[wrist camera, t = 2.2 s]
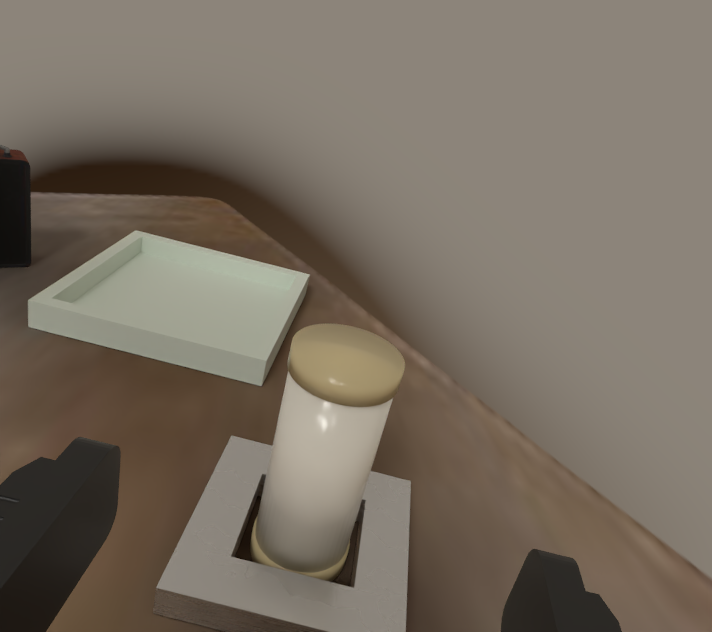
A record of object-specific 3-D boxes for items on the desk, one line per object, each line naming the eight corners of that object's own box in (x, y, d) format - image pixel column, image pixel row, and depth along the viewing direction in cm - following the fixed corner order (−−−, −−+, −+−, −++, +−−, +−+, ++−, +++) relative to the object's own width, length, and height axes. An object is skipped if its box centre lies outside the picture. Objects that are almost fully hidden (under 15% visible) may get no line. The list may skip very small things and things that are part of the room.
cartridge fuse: (237, 575, 26) (280, 365, 22) (263, 503, 31) (303, 313, 26) (338, 601, 26) (403, 396, 22) (350, 525, 31) (406, 340, 26)
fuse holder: (153, 613, 24) (156, 587, 23) (228, 457, 33) (231, 435, 32) (395, 675, 24) (405, 651, 23) (403, 501, 33) (410, 481, 32)
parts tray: (28, 326, 40) (27, 300, 39) (134, 251, 54) (135, 230, 53) (261, 386, 40) (266, 360, 39) (305, 294, 54) (309, 274, 53)
